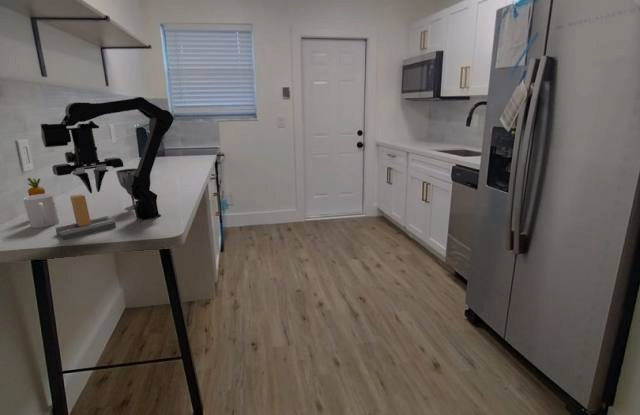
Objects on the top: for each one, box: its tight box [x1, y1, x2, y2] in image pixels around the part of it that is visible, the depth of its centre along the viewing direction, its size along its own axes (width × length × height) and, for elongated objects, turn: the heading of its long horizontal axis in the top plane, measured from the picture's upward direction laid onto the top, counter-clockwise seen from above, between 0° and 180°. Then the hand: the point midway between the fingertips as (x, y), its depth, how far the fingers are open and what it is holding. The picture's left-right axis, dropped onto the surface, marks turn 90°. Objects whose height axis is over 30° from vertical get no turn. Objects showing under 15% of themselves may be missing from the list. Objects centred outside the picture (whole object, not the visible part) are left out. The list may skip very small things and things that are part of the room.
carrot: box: [27, 177, 46, 196], centre depth 138 cm, size 5×5×15 cm
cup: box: [22, 193, 60, 229], centre depth 127 cm, size 8×12×10 cm
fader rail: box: [55, 215, 117, 241], centre depth 121 cm, size 15×8×3 cm, turn 137°
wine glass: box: [115, 168, 137, 211], centre depth 145 cm, size 8×8×15 cm
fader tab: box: [69, 193, 92, 228], centre depth 119 cm, size 4×5×10 cm
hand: (94, 192), depth 121 cm, fingers closed
